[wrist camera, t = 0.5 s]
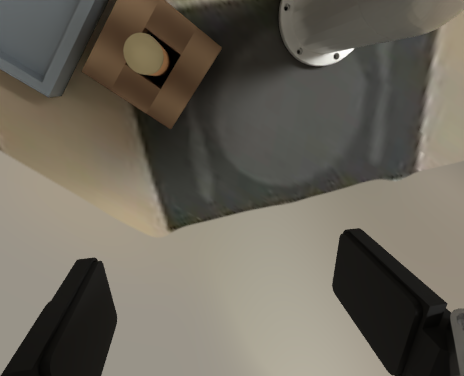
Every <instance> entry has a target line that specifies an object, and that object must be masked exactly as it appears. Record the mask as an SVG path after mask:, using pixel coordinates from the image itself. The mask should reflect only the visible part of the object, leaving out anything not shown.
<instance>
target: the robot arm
mask: <svg viewBox="0 0 464 376" xmlns="http://www.w3.org/2000/svg"><path fill="white" fill-rule="evenodd" d="M284 7H286V8H287V10H286V11H285V10H284ZM463 10H464V0H281V2H280V7H279V29H280V33H281V37H282V40H283V42H284V44H285V46H286V48H287V49H288V51H289V52H290V53H291V54H292V55H293V56H294V57H295V58H296V59H297V60H299V61H300V62H302V63H304V64H307V65H309V66H327V65H331V64H334V63H337V62H339V61H340V60H342V59H343V58H345V57H346V56H347V55H348V54H350V53H351V52H352V51H353V50H354V48H358V47H363V46H368V45H373V44H378V43H384V42H389V41H394V40H399V39H404V38H409V37H414V36H419V35H422V34H425V33H428V32H431V31H433V30H435V29H437V28H439V27H441V26H443V25H444V24H446V23H447V22H449V21H450V20H451V19H453V18H454V17H456V16H457V15H458V14H459V13H460V12H462V11H463ZM297 50H299V53H298V54H297ZM334 56H335V57H334ZM332 286H333V291H334V293H335V295H336V296H337V298H338V299H339V301H340V302H341V304H342V305H343V306H344V308H345V309H346V311H347V312H348V314H349V315H350V317H351V318H352V320H353V321H354V323H355V324H356V326H357V327H358V328H359V330H360V331H361V333H362V334H363V336H364V337H365V339H366V340H367V342H368V343H369V344H370V346H371V348H372V349H373V351H374V352H375V353H376V355H377V356H378V358H379V359H380V361H381V362H382V364H383V365H384V367H385V368H386V370H387V371H388V372H389V373H390V374H391V375H395V376H464V309H456V310H454V311H453V312H452V313H451V312H450V311H448V310H447V309H446V306H447V303H446V302H445V301H444V300H443V299H441V298H440V297H439V296H438V295H437V294H435V292H433V291H432V290H431V289H430V288H429V287H428V286H426V285H425V284H424V283H423V282H422V281H421V280H419V279H418V278H417V277H416V276H415V275H414V274H413V273H411V272H410V271H409V270H408V269H407V268H406V267H404V266H403V265H402V264H401V263H400V262H399V261H397V260H396V259H395V258H394V257H393V256H392V255H391V254H389V253H388V252H387V251H386V250H385V249H383V248H382V247H381V246H380V245H379V244H378V243H377V242H375V241H374V240H373V239H372V238H371V237H369V236H368V235H367V234H366V233H365V232H364V231H363V230H361V229H359V228H358V229H349V230H345V231H344V232H343V234H341V235H340V238H339V245H338V251H337V258H336V264H335V271H334V277H333V284H332ZM116 324H117V314H116V310H115V306H114V303H113V299H112V295H111V292H110V288H109V284H108V280H107V277H106V273H105V269H104V266H103V263H102V261H98V260H97V259H96V258H87V259H79V260H77V261H76V262H75V264H74V266H73V267H72V269H71V270H70V272H69V273H68V275H67V277H66V278H65V280H64V281H63V283H62V285H61V286H60V288H59V289H58V291H57V292H56V294H55V296H54V297H53V299H52V301H50V302H49V303H48V304H47V305H46V306H45V308H44V309H43V311H42V312H41V314H40V315H39V317H38V318H37V320H36V322H35V323H34V325H33V326H32V328H31V329H30V331H29V333H28V334H27V336H26V337H25V339H24V340H23V342H22V343H21V345H20V346H19V348H18V350H17V351H16V353H15V354H14V356H13V357H12V359H11V361H10V362H9V364H8V365H7V367H6V368H5V370H4V371H3V373H2V375H1V376H101V374H102V371H103V367H104V364H105V361H106V357H107V354H108V351H109V347H110V344H111V341H112V337H113V334H114V331H115V327H116Z"/></svg>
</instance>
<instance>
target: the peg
mask: <svg viewBox="0 0 464 376" xmlns="http://www.w3.org/2000/svg"><path fill="white" fill-rule="evenodd" d="M123 52H124V58H125V60H126V62H127V64H128V66H129V67H130V68H131V69H132V70H133V71H135V72H137V73H139V74H143V75H151V76H163V75H165V74H166V73H167V72H168V71H169V69H170V66H171V60H170V57H169V55H168V53H167V52H166V51H165V50H164V48H163V47H162V46H161V45H160V44H159V43H158V42H157V41H156V39H155V38H153V37H152V36H151V35H149V34H146V33H135V34H133V35H131V36H130V37H129V38H128V39H127V40H126V42H125V44H124V49H123Z"/></svg>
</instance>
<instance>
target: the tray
mask: <svg viewBox="0 0 464 376" xmlns="http://www.w3.org/2000/svg"><path fill="white" fill-rule="evenodd" d="M107 2H108V0H0V69H1V70H3V71H4V72H6V73H8V74H9V75H11V76H13V77H14V78H16V79H18V80H20V81H21V82H23V83H25V84H26V85H28V86H30V87H31V88H33V89H35V90H37V91H38V92H40V93H42V94H43V95H45V96H47V97H56V96H62V94H63V92H64V90H65V88H66V86H67V84H68V82H69V80H70V78H71V76H72V74H73V72H74V70H75V68H76V65H77V63H78V61H79V59H80V57H81V55H82V53H83V51H84V49H85V47H86V45H87V43H88V41H89V39H90V37H91V35H92V33H93V31H94V29H95V27H96V25H97V23H98V21H99V19H100V17H101V15H102V13H103V10H104V8H105V6H106V4H107Z"/></svg>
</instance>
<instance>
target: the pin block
mask: <svg viewBox="0 0 464 376" xmlns="http://www.w3.org/2000/svg"><path fill="white" fill-rule="evenodd" d="M135 33H146V34H149V33H151V34H152V35H153V36H155V37H156V38H157V39H159V40H160V41H161V42H163V43H164V44H165V45H167V46H168V47H169V48H170V49H172V50H173V51H174V52H176V53H177V54H178V55H180V57H179V59H178V61H177V62H176V64H175V66H174V68H173V69H172V71H171V73H170V74H169V76H168V78H167V79H166V81H165V83H164V84H163V86H162V87H161V86H160V85H158V84H157V83H155V82H154V81H153V80H151V79H150V78H148V77H147V76H145V75H143V74H139V73H137V72H135V71H133V70H132V69H131V68H130V67H129V66H128V64H127V62H126V60H125V58H124V52H123V49H124V44H125V42H126V40H127V39H128V38H129V37H130V36H131V35H133V34H135ZM221 49H222V47H221V46H219V45H218V44H217V43H216V42H214V41H213V40H212V39H211V38H210V37H208V36H207V35H206V34H205V33H204V32H202V31H201V30H200V29H199V28H198V27H196V26H195V25H194V24H193V23H192V22H190V21H189V20H188V19H187V18H185V17H184V16H183V15H182V14H181V13H179V12H178V11H177V10H176V9H175V8H173V7H172V6H171V5H170V4H169V3H167V2H166V1H165V0H117V1H116V3H115V5H114V7H113V9H112V11H111V13H110V15H109V17H108V19H107V21H106V23H105V25H104V27H103V29H102V31H101V33H100V35H99V37H98V39H97V41H96V43H95V45H94V47H93V49H92V51H91V53H90V55H89V57H88V59H87V61H86V63H85V65H84V67H83V69H82V71H81V72H83V73H84V74H86V75H87V76H89V77H91V78H92V79H94V80H95V81H97V82H98V83H100V84H101V85H103V86H104V87H106V88H108V89H109V90H111V91H112V92H114V93H115V94H117V95H118V96H120V97H121V98H123V99H125V100H126V101H128V102H129V103H131V104H132V105H134V106H135V107H137V108H138V109H140V110H142V111H143V112H145V113H146V114H148V115H149V116H151V117H152V118H154V119H155V120H157V121H159V122H160V123H162V124H163V125H165V126H166V127H168V128H169V129H172V127H173V125H174V124H175V122H176V121H177V119H178V117H179V116H180V114H181V113H182V111H183V109H184V108H185V106H186V105H187V103H188V102H189V100H190V98H191V97H192V95H193V94H194V92H195V90H196V89H197V87H198V86H199V84H200V82H201V81H202V79H203V78H204V76H205V74H206V73H207V71H208V70H209V68H210V66H211V65H212V63H213V62H214V60H215V59H216V57H217V55H218V54H219V52H220V51H221Z"/></svg>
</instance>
